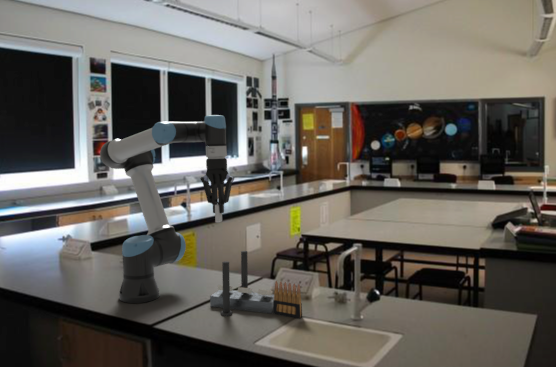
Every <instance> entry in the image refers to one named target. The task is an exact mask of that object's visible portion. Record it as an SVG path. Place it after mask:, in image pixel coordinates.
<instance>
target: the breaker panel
mask: <svg viewBox="0 0 556 367" xmlns="http://www.w3.org/2000/svg"><path fill="white" fill-rule="evenodd" d="M273 301H274V293H272V296H271V295H260V294H258V292H253V291H252V293H241V292H238V290H233V289H232V291H230V310H238V311H246V312H252V313H253V312H254V313H263V314H264V313H265V314H270V315H273ZM209 304H210V305H209V306H210V307H212V308H220V309H221V308H222V309H223V291H222V290H218V289H217V290H216V291H215V292H214V293H213V294H211V295H209Z"/></svg>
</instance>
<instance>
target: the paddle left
mask: <svg viewBox="0 0 556 367" xmlns="http://www.w3.org/2000/svg"><path fill="white" fill-rule="evenodd" d="M218 290H222V291H223V284H218V285H217V291H218ZM232 290H233V286H232V285H230V291H232Z"/></svg>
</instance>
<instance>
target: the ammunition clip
mask: <svg viewBox="0 0 556 367" xmlns="http://www.w3.org/2000/svg"><path fill="white" fill-rule="evenodd" d="M273 292H274V293H273V294H274V301H273V313H272V315H277V316H283V317H286V318H287V317H288V318H293V319H298V320H300V319H301V318H303V304H302V294H301V293H302V292H301V286H300V283H298V285H297V287H296V284H295V283H293V285H292V284H291V282H289V283H288V285H287V282H284V283H282V281H279V284H278V280H276V281H275V283H274V291H273Z"/></svg>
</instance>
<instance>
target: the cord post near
mask: <svg viewBox="0 0 556 367" xmlns="http://www.w3.org/2000/svg"><path fill="white" fill-rule="evenodd" d="M221 268H222V285H223V308H222V310H221V311H220V316H222V317H229V316H232V315H233V311H232V309H230V286H231V285H230V261H228V260H226V261H222V267H221Z"/></svg>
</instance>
